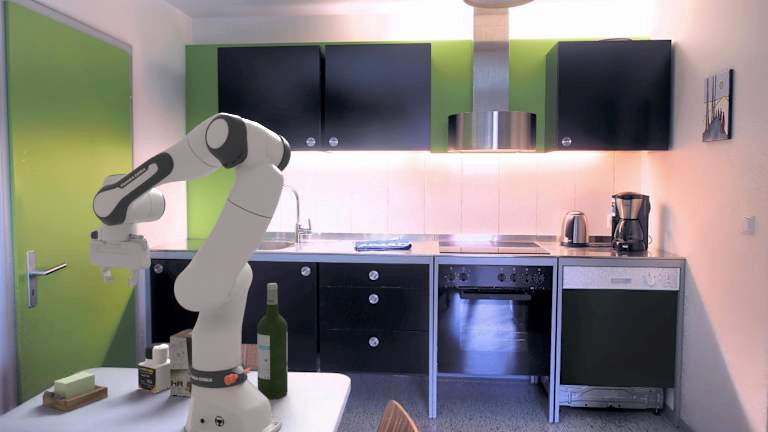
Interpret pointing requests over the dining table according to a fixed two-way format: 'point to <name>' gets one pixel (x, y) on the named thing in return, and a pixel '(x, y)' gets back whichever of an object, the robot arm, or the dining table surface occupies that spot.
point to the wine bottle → (272, 349)
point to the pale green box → (75, 385)
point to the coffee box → (181, 363)
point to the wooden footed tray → (74, 399)
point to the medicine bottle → (155, 368)
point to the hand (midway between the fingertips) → (120, 283)
